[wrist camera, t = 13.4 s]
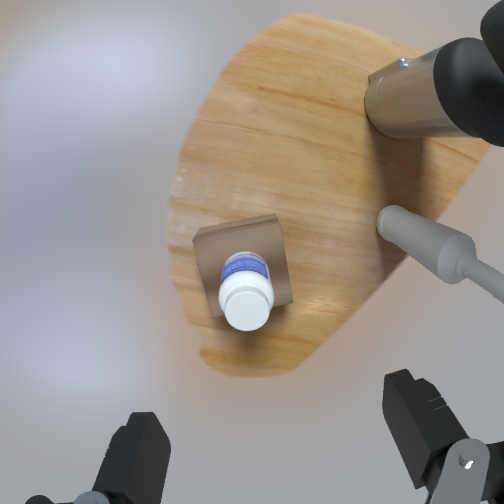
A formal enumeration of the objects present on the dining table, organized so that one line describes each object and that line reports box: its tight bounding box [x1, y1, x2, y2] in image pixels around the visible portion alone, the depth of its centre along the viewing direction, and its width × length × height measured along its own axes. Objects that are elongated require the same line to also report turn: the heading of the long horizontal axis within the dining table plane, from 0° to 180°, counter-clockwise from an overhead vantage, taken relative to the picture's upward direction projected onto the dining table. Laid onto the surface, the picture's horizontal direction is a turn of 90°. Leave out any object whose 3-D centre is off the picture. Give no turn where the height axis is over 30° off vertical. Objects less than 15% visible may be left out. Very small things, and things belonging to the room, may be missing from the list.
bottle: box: [376, 205, 504, 304], centre depth 30 cm, size 5×5×25 cm
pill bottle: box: [219, 251, 274, 331], centre depth 32 cm, size 5×5×10 cm
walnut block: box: [192, 214, 293, 317], centre depth 40 cm, size 10×10×6 cm
